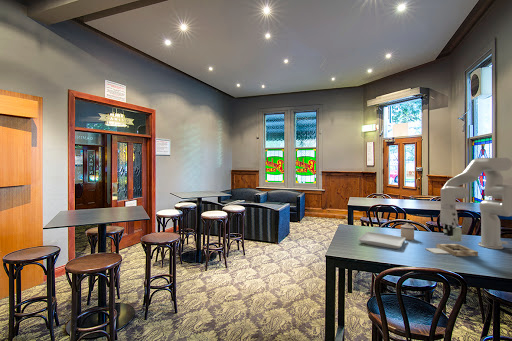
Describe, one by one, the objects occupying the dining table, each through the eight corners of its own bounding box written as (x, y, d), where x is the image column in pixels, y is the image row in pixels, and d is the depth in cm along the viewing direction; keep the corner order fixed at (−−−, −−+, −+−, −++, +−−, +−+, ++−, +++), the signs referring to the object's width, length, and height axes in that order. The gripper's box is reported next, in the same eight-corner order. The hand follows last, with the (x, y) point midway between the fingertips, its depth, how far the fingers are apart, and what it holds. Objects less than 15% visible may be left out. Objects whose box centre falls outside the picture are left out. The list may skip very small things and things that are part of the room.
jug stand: (457, 247, 170) (457, 244, 170) (478, 256, 154) (478, 251, 154) (436, 247, 170) (436, 243, 170) (454, 255, 154) (454, 251, 154)
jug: (456, 238, 165) (456, 226, 165) (463, 241, 159) (463, 228, 159) (441, 238, 165) (441, 226, 165) (448, 241, 159) (447, 229, 159)
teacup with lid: (416, 240, 187) (416, 224, 186) (403, 240, 188) (403, 224, 188) (409, 236, 198) (409, 221, 198) (397, 235, 200) (397, 221, 200)
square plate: (400, 251, 163) (400, 245, 163) (356, 244, 179) (356, 238, 179) (406, 242, 184) (406, 236, 184) (366, 235, 201) (366, 231, 201)
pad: (439, 249, 167) (439, 248, 167) (449, 253, 158) (449, 252, 158) (425, 249, 167) (425, 248, 167) (434, 253, 158) (434, 252, 158)
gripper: (463, 208, 154) (464, 238, 154) (445, 204, 170) (445, 232, 170) (451, 208, 154) (451, 239, 154) (433, 204, 170) (434, 232, 170)
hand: (448, 235), depth 162 cm, fingers closed on jug
